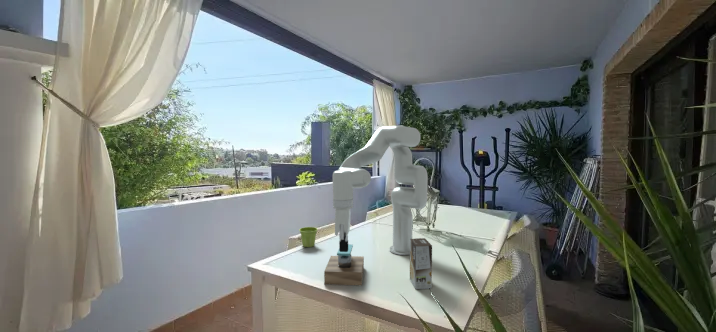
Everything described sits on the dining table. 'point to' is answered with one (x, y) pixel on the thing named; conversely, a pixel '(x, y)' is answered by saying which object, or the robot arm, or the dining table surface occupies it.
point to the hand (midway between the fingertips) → (343, 251)
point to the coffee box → (421, 263)
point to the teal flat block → (345, 252)
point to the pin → (344, 261)
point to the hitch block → (344, 272)
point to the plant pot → (308, 236)
